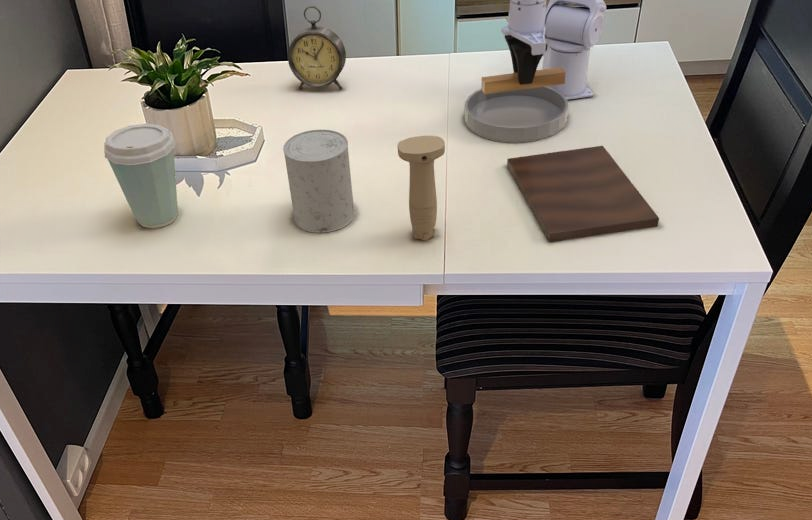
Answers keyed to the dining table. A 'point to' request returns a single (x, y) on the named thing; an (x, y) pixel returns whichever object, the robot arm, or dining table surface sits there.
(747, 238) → the dining table surface
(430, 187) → the handle
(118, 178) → the disposable coffee cup
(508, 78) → the stick
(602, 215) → the board
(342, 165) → the grey mottled cylinder
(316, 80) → the alarm clock
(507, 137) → the tin
